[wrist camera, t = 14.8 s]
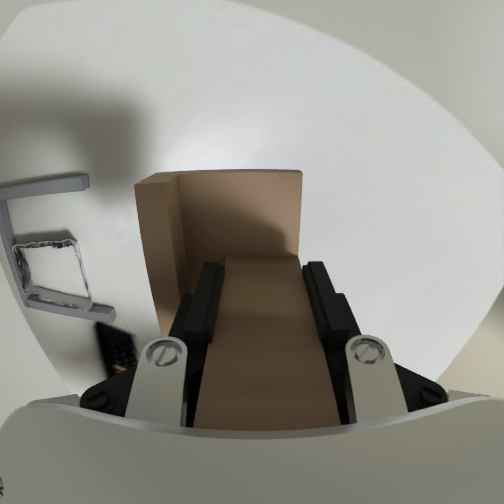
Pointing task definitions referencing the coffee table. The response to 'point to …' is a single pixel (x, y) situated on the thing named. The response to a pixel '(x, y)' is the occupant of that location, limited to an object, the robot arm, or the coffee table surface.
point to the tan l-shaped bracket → (240, 293)
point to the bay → (3, 226)
